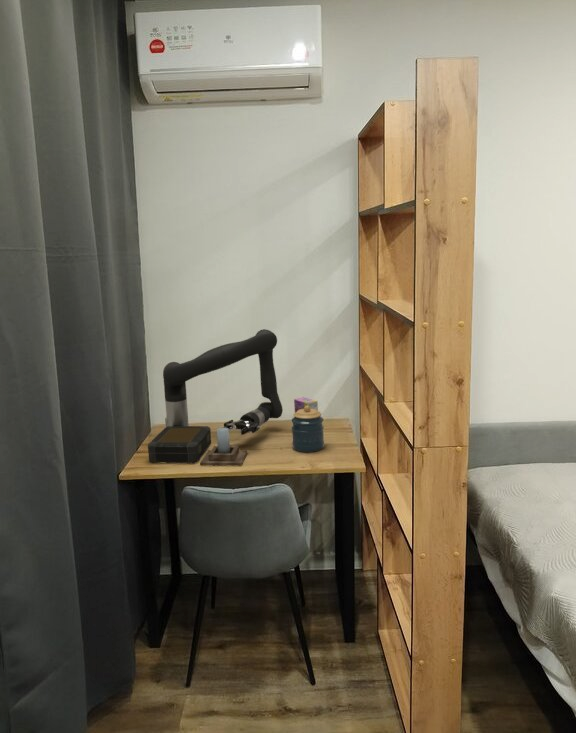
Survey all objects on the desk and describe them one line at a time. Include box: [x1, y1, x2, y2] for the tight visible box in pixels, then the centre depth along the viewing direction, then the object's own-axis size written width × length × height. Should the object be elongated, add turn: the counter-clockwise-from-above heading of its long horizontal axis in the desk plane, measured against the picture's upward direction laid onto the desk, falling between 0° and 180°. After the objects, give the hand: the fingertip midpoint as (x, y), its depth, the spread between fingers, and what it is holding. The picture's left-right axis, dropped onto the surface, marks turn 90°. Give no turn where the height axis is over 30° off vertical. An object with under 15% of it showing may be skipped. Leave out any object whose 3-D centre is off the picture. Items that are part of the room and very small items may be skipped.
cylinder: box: [216, 427, 231, 453], centre depth 237 cm, size 5×5×11 cm
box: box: [293, 396, 319, 413], centre depth 278 cm, size 10×6×12 cm, turn 37°
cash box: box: [147, 425, 212, 464], centre depth 248 cm, size 25×20×8 cm
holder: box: [199, 445, 248, 467], centre depth 238 cm, size 16×14×4 cm
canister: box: [291, 406, 325, 453], centre depth 247 cm, size 13×13×18 cm
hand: (232, 431), depth 243 cm, fingers open, 8 cm apart
